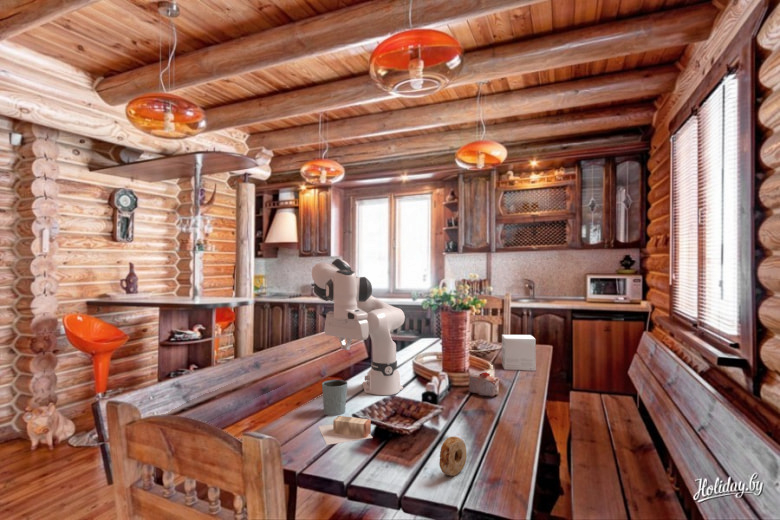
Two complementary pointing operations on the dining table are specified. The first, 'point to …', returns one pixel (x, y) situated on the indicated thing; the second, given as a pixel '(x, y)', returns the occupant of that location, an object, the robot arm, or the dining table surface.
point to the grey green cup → (334, 397)
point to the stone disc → (452, 456)
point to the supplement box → (519, 352)
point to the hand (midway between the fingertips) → (345, 349)
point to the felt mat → (337, 435)
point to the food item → (484, 384)
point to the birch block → (352, 426)
